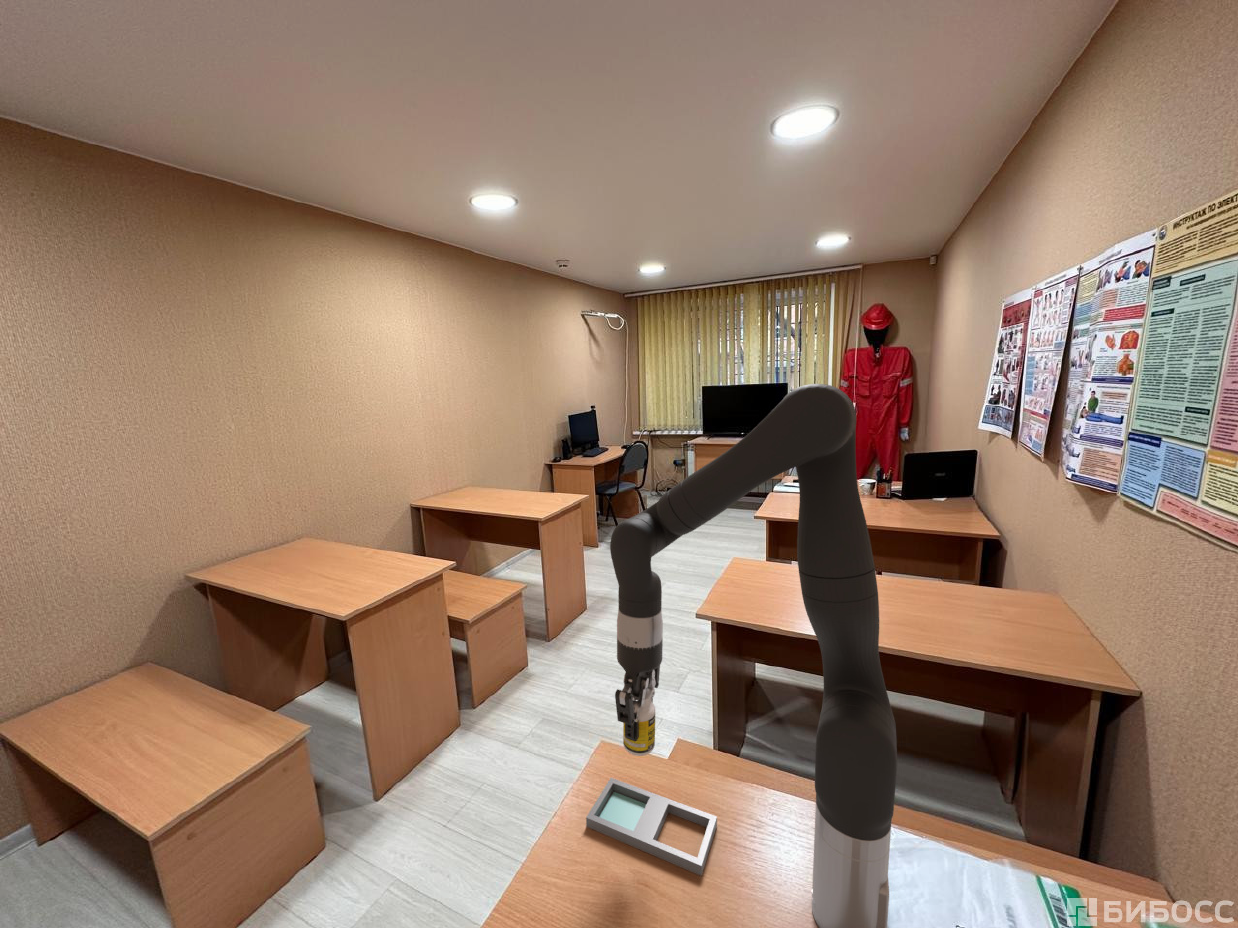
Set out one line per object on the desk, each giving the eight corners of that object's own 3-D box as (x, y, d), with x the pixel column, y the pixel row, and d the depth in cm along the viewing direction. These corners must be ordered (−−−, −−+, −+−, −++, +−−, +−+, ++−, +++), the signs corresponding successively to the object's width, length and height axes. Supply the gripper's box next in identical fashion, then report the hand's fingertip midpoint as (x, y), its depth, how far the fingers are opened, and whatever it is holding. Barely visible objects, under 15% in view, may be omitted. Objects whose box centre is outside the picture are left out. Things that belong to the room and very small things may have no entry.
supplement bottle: (652, 759, 78) (653, 705, 76) (620, 754, 79) (620, 701, 77) (657, 736, 83) (657, 685, 81) (626, 731, 84) (626, 681, 82)
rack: (716, 825, 82) (717, 816, 81) (701, 875, 73) (701, 865, 73) (611, 785, 90) (610, 777, 90) (586, 826, 82) (586, 817, 82)
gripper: (643, 661, 70) (643, 764, 72) (675, 619, 82) (674, 708, 85) (598, 649, 73) (599, 748, 75) (636, 611, 86) (636, 696, 88)
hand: (639, 726), depth 80 cm, fingers closed on supplement bottle, 5 cm apart
